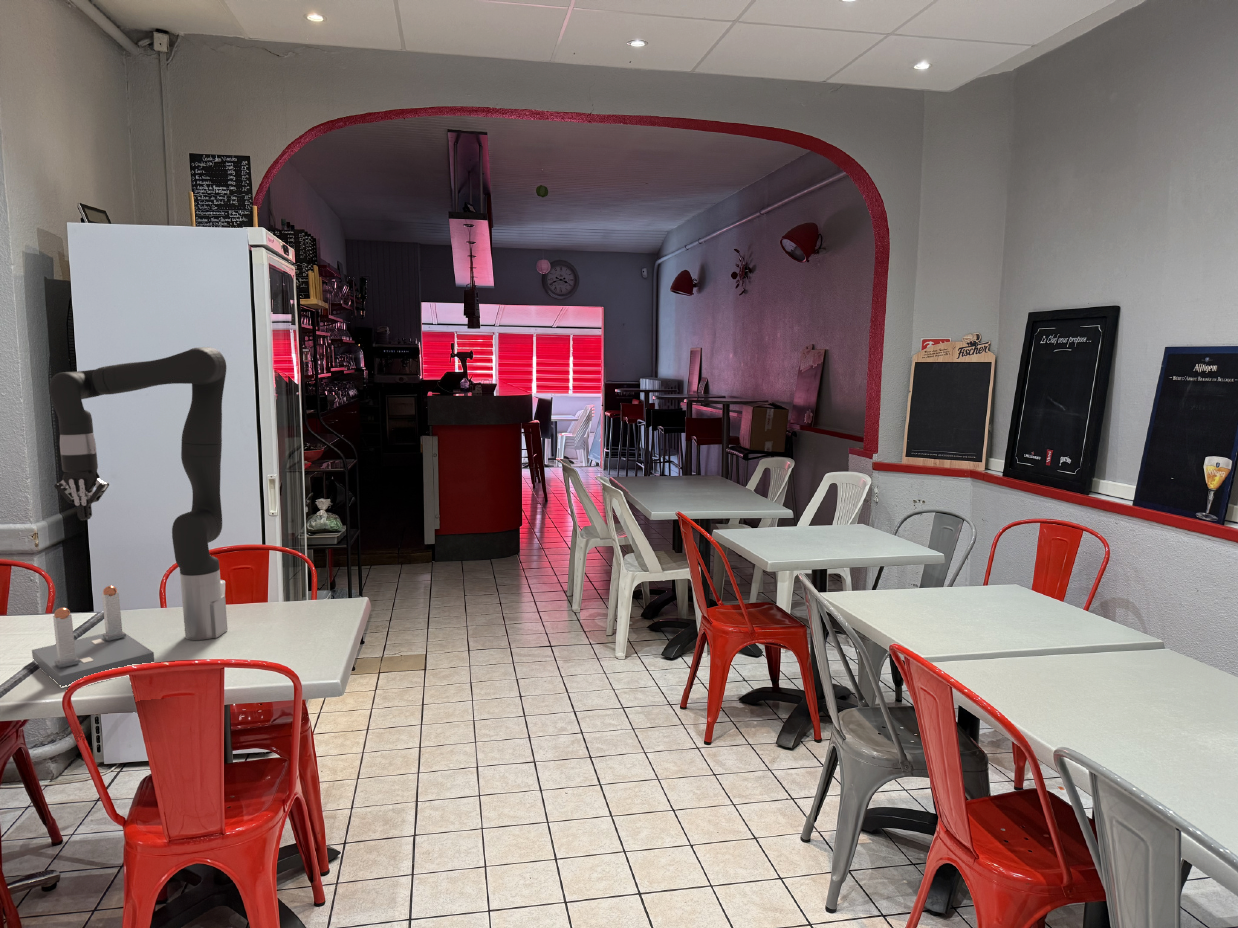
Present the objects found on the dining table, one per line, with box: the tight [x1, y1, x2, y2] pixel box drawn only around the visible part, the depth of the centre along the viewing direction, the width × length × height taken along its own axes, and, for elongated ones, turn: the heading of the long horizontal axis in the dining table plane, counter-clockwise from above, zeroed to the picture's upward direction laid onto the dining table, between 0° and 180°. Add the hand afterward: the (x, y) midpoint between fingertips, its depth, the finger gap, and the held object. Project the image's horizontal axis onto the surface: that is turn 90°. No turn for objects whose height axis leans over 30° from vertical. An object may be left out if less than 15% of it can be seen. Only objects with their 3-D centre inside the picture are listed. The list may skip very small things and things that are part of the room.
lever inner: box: [101, 585, 127, 641], centre depth 204 cm, size 4×4×13 cm
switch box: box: [31, 632, 155, 687], centre depth 196 cm, size 24×19×3 cm
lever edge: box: [52, 607, 80, 668], centre depth 186 cm, size 4×4×13 cm
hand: (85, 519), depth 207 cm, fingers closed
